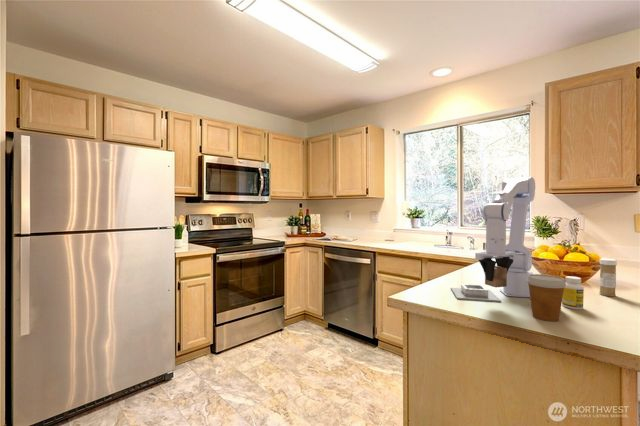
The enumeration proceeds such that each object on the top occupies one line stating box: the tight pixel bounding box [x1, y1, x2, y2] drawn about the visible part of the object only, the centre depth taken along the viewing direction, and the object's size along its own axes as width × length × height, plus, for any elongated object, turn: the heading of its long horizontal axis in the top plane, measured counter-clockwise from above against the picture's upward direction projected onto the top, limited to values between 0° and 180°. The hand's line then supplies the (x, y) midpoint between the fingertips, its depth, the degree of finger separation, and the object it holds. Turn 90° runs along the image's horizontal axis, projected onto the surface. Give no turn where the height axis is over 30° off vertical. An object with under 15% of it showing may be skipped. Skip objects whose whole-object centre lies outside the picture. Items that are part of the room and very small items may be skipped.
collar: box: [460, 283, 489, 297], centre depth 114 cm, size 8×8×2 cm
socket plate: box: [450, 287, 502, 303], centre depth 114 cm, size 14×14×1 cm
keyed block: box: [484, 265, 507, 288], centre depth 102 cm, size 4×4×6 cm
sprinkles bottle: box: [598, 257, 618, 297], centre depth 114 cm, size 5×5×14 cm
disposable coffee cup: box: [527, 273, 566, 322], centre depth 91 cm, size 10×10×12 cm
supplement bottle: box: [561, 275, 585, 310], centre depth 100 cm, size 5×5×10 cm
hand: (495, 280), depth 102 cm, fingers closed on keyed block, 4 cm apart
